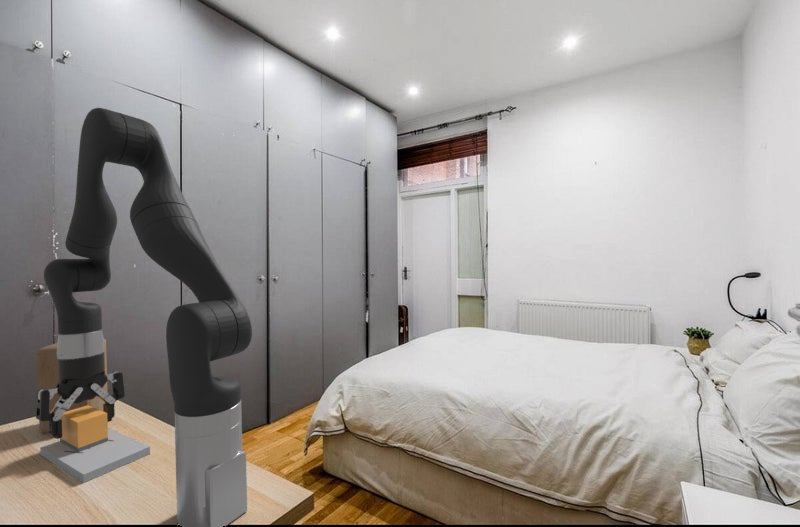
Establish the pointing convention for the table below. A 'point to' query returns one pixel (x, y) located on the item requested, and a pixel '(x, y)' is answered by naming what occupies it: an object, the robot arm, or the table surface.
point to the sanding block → (84, 428)
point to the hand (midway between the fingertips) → (84, 428)
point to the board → (96, 456)
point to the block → (49, 379)
